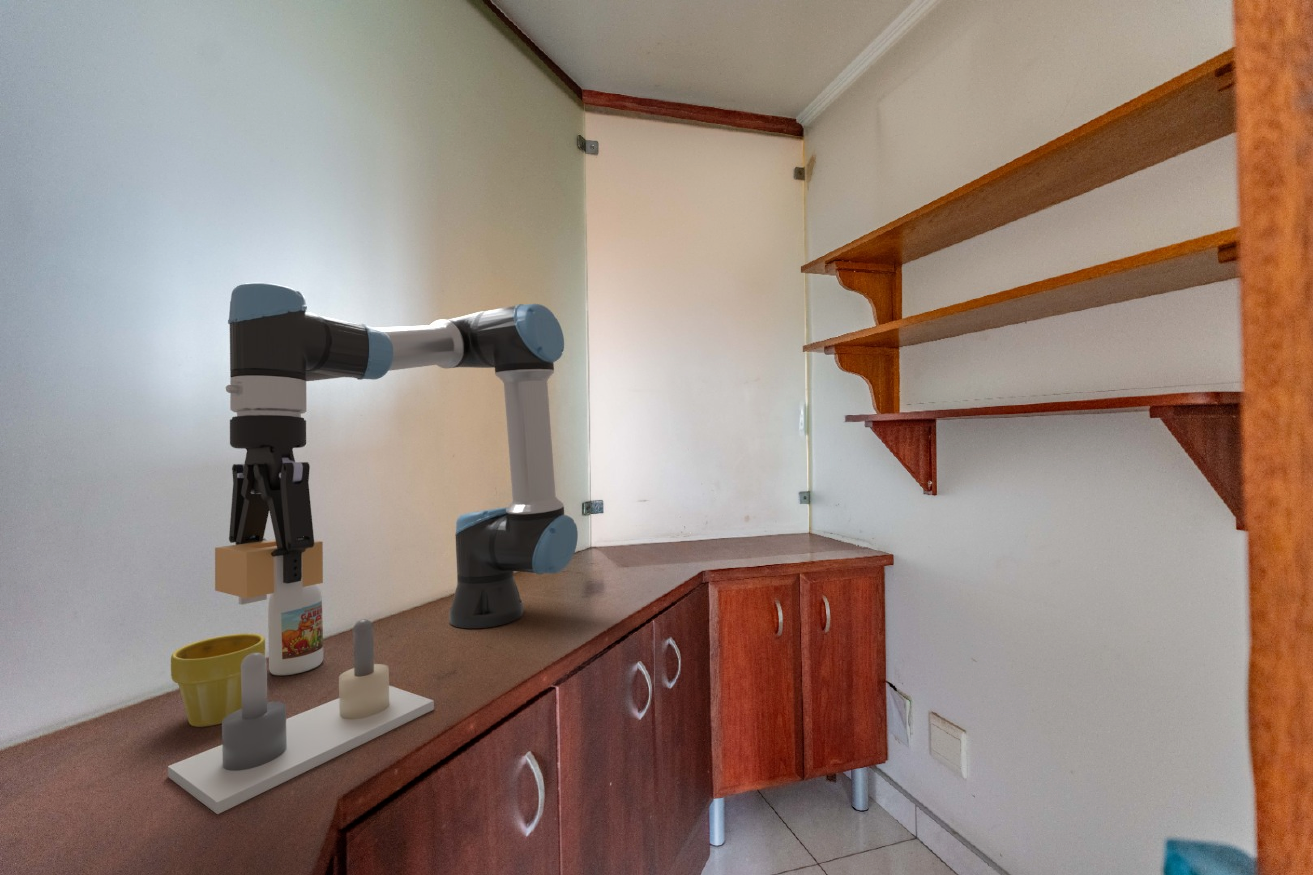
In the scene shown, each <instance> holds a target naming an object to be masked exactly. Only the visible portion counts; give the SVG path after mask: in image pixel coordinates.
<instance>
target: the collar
mask: <svg viewBox="0 0 1313 875" xmlns="http://www.w3.org/2000/svg"><path fill="white" fill-rule="evenodd" d="M323 542H324V541H320V540H319V541H318V540H314V546H313V547H312V548H307V549H306V550H305V552H302V587H305V586H310V585H315V584H318V585H319V584H323V583H324V579H323V578H324V572H323V571H324V570H323V569H324V568H323V566H324V564H323V563H324V562H323V560H324V559H323V558H324V556H323V554H324V552H323V549H324V547H323V545H324V544H323ZM276 549H277V544H276V540H275V539H272V540H267V541H261V542H254V543H246V544H239V545H236V544H233V545H223V546H217V547H214V591H216V592H218V593H223V594H227V595H232V596H236V597H238V598H239V597H243V598H252V597H257V596H261V595H266V594H267V595H270V594H271V593H274V561H273V556H272V555H271V553H272V552H273V551H274V550H276Z"/></svg>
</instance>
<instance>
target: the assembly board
mask: <svg viewBox="0 0 1313 875" xmlns="http://www.w3.org/2000/svg"><path fill="white" fill-rule="evenodd" d="M352 632H353V633H352V634H353V635H352V637H353V639H352V640H353V668H349V669H347V670H345V671H344V672H343V673H341V674H339V676H338V695H339V696H338V698H336V699H332V700H331V701H328V702H325V703H322V704H321V705H318V706H316V707H313V708H310V709H309V710H305V711H302V712H300V713H298V714H296V715H292V716H291V717H288V718H287V706H286V704H285V703H283V702H281V701H280V702H279V701H268V677H267V676H268V672H267V671H268V670H267V668H268V667H267V666H268V665H267V661H268V660H267V658H266V655H265V656H264V655H263V654H261V653H251V654H249V655H247V656H246V657H245V658H244V659H243V661H242V663H241V697H242V709H239V710H237V711H235V712H233V713H231V714H229V715H228V716H226V717H225V718H224V719H223V720H222V723H221V740H222V741H221V744H220V745H218V746H215V747H213V748H210V749H207V750H205V751H203V752H199V753H197V754H195V755H192V756H191V757H187V758H185V759H182V760H180V761H177V762H175V763H172V764H170V765H168V766H167V778H168V779H170V780H172V782H174V783H175V784H177V785H178V786H179V787H180V788H182V789H183V790H184V791H186V792H187V793H189V794H190V795H191V796H192V797H194V798H195V799H197V801H199V802H201V804H203V805H205V806H206V807H207V808H208V809H209V810H211V811H212V812H214V813H215V814H217V815H220V814H221V813H223V812H225V811H228V810H230V809H231V808H234V807H235V806H239V805H240V804H242V803H244V802H246V801H249V800H250V799H252V798H254V797H256V796H258V795H261V794H262V793H265V792H267V791H269V790H270V789H273V788H275V787H277V786H279V785H281V784H283V783H285V782H287V781H290V780H291V779H294V778H296V777H298V776H299V775H302V774H304V773H306V772H307V771H310V770H312V769H314V768H315V767H316V768H317V767H319V766H320V765H322V764H325V763H326V762H328V761H330V760H332V759H335V758H336V757H339V756H341V755H342V754H345V753H347V752H348V751H351V750H352V749H355V748H357V747H359V746H362V745H363V744H366V743H368V742H369V741H372V740H374V739H376V738H379V736H382V735H384V734H386V733H388V732H390V731H392V730H395V729H396V728H398V727H401V726H403V725H404V724H407V723H408V722H411V721H413V720H415V719H417V718H419V717H421V716H423V715H425V714H427V713H430V712H431V711H433V710H435V709H434V708H435V701H434V700H433V699H431V698H427V697H424V696H421V695H419V694H415V693H412V692H409V691H406V690H403V689H401V688H397V687H396V686H393V685H390V671H389V669H390V668H389V666H388V665H386V664H382V663H375V657H374V656H375V655H374V654H375V651H374V649H375V648H374V646H375V645H374V624H373V622H372V621H371V620H370V619H365V618H364V619H360V620H358V621H356V623H355V624H354V626H353V627H352Z"/></svg>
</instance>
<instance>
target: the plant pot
mask: <svg viewBox="0 0 1313 875" xmlns="http://www.w3.org/2000/svg"><path fill="white" fill-rule="evenodd" d="M251 653H261V654H263V655H264V656H265V657H266V636H264V635H263V634H259V633H249V632H247V633H234V634H225V635H219V636H214V637H210V638H205V639H201V640H198V641H195V642H191V643H189V644H185V645H183V646H182V647H180V648H178V649H176V650H175V651H174V652H172V654H171V657H170V677H171V680H172V681H173V682H174V683H175V684H176V683H177V684H178V688H179V691H180V695H181V699H182V703H183V705H184V709H185V714H186V716H187V717H186V718H187V721H188V723H189V725H190V726H192V727H197V728H203V727H211V726H216V725H220V724H221V725H222V720H223V719H224V718H225V717H226V716H228V715H229V714H231V713H233V712H235V711H237V710H239V709H242V697H241V663H242V661H243V659H244V658H245V657H246V656H247V655H249V654H251Z"/></svg>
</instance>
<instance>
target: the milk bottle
mask: <svg viewBox="0 0 1313 875" xmlns="http://www.w3.org/2000/svg"><path fill="white" fill-rule="evenodd" d="M302 592H303V608H301V609H297V610H293V611H288V612H284V613H280V614H274V593H271V594H269V598H268V609H267V610H268V612H267V614H268V616H267V617H268V620H267V622H268V624H267V625H268V627H267V630H268V636H267V638H268V666H269V667H268V668H269V670H268V671H269V672H270V674H271V675H274V676H289V675H296V674H297V675H298V674H300V673H305V672H307V671H310V670H313V669H316V668H317V667H319V666H320V665H321V664H322V662H323V660H324V630H323V629H324V628H323V627H324V626H323V624H324V623H323V622H324V621H323V602H322V593H321V589H320V585H319V584H315V585H310V586H305V587H302Z"/></svg>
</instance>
